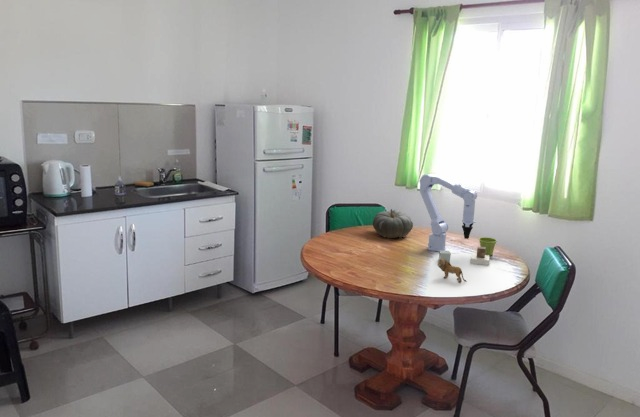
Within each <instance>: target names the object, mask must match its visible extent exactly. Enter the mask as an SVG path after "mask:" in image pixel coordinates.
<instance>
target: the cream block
mask: <svg viewBox="0 0 640 417" xmlns="http://www.w3.org/2000/svg"><path fill="white" fill-rule="evenodd" d="M470 258H471V259H470V264H476V265H487V266H489V265H490V256H489V255H485V258H478V257H477V253H471V256H470Z"/></svg>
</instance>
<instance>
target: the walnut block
mask: <svg viewBox="0 0 640 417" xmlns="http://www.w3.org/2000/svg"><path fill="white" fill-rule="evenodd" d="M485 248H486V247H480V245H479V246H477V250H476V254H477V257H478V258H485Z"/></svg>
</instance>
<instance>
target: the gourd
mask: <svg viewBox="0 0 640 417" xmlns="http://www.w3.org/2000/svg"><path fill="white" fill-rule="evenodd" d="M413 227H414V223H413V221H412V218H411V217H410V216H409V215H408V214H407V213H405V212H403V211H401V210H397V209H393V208H391V209H390V210H385V211H384V210H383V211H380V212H378V213H376V214H375V216H374V218H373V220H372V228H373V229H374V230H375V231H376V233H377V234H378V235H379V236H381V237H383V238H385V237H387V238H386V239H396V238H398V237H399V238H400V239H402V237H403V238H405V237H407V236H408V234H409V233H410V232H411V231H412V230H413V229H414V228H413Z"/></svg>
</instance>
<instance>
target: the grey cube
mask: <svg viewBox="0 0 640 417" xmlns="http://www.w3.org/2000/svg"><path fill="white" fill-rule="evenodd" d="M451 256H452V254H451V252H450V250H445V251H438V260H439V259H445V260H447V262H449V263H450V264H451Z"/></svg>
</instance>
